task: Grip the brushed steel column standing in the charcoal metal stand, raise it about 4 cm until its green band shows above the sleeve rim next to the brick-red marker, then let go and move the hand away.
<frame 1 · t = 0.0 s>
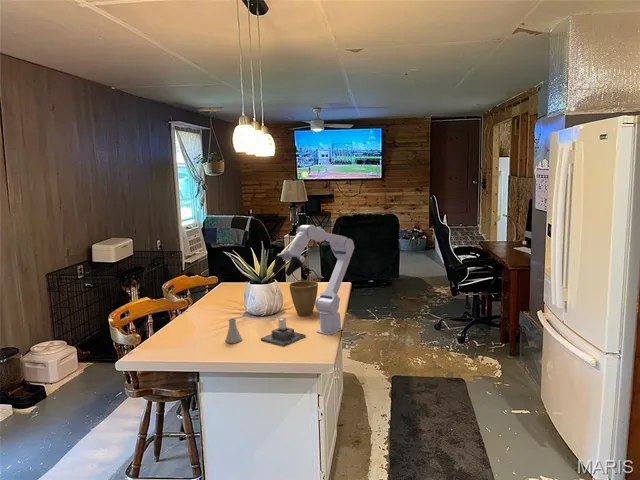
hand: (280, 273, 195), 32 cm above the table, tool tilted 50°, fingers open, 7 cm apart
plant pot: (305, 314, 249), on the table
steel column: (282, 327, 213), point 5 cm above the table, slide at 0.0 cm
flask: (233, 341, 214), on the table
charcoal stand: (283, 338, 214), on the table
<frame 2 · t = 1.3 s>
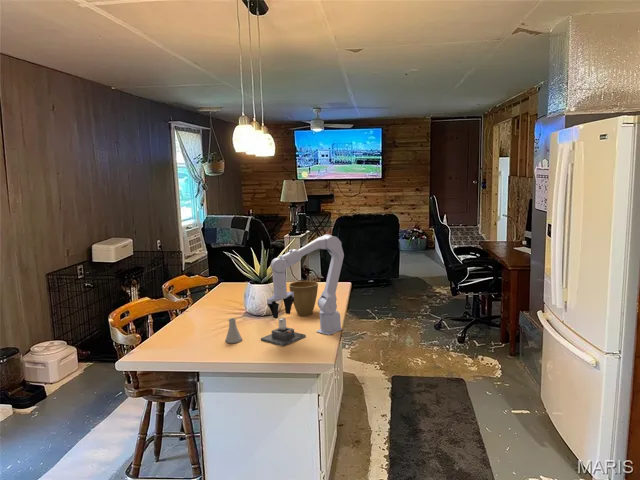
hand: (281, 315, 212), 10 cm above the table, tool pointing down, fingers open, 7 cm apart
nothing on the table moved.
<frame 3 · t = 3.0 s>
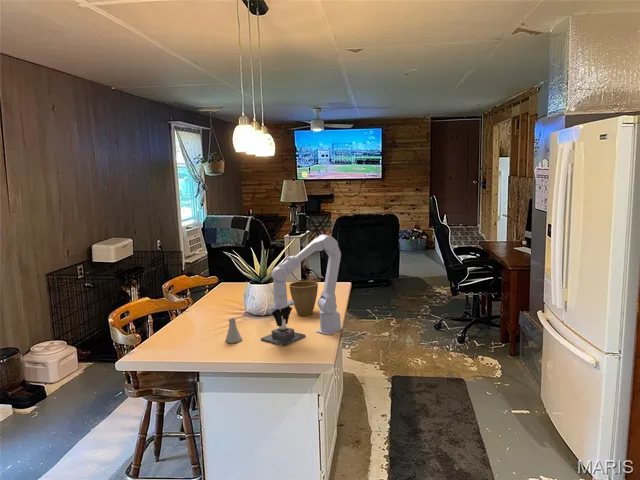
hand: (282, 324, 213), 6 cm above the table, tool pointing down, fingers closed on steel column, 3 cm apart
steel column: (282, 327, 213), point 5 cm above the table, slide at 0.0 cm, touching gripper
everything else where it was.
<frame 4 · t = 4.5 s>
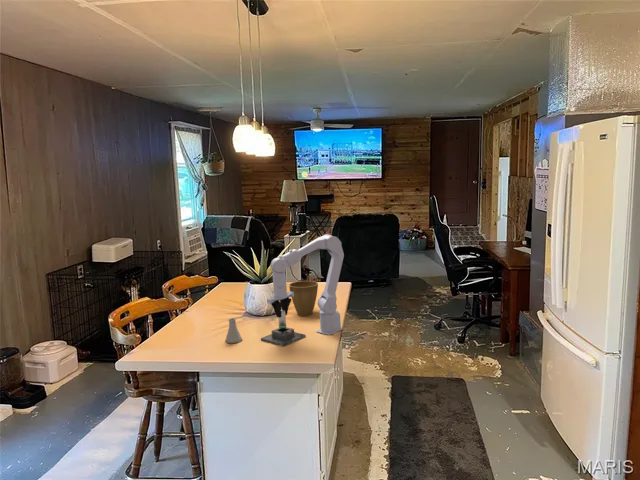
hand: (281, 315, 212), 10 cm above the table, tool pointing down, fingers closed on steel column, 3 cm apart
steel column: (282, 318, 212), point 9 cm above the table, slide at 3.9 cm, touching gripper
everything else where it was.
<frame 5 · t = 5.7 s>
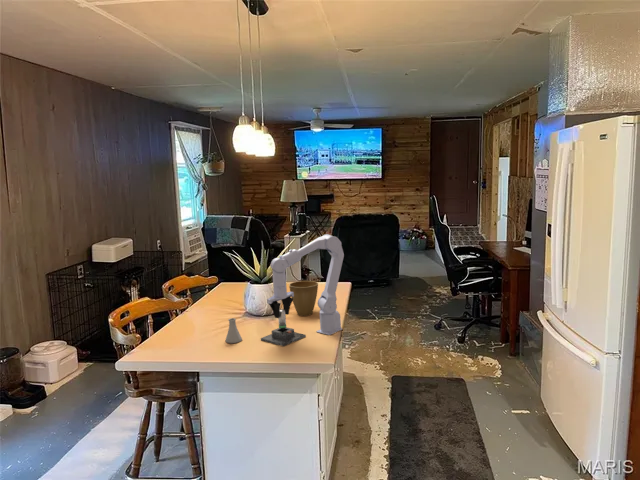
hand: (281, 315, 212), 10 cm above the table, tool pointing down, fingers open, 5 cm apart
steel column: (282, 318, 212), point 9 cm above the table, slide at 3.9 cm
everything else where it was.
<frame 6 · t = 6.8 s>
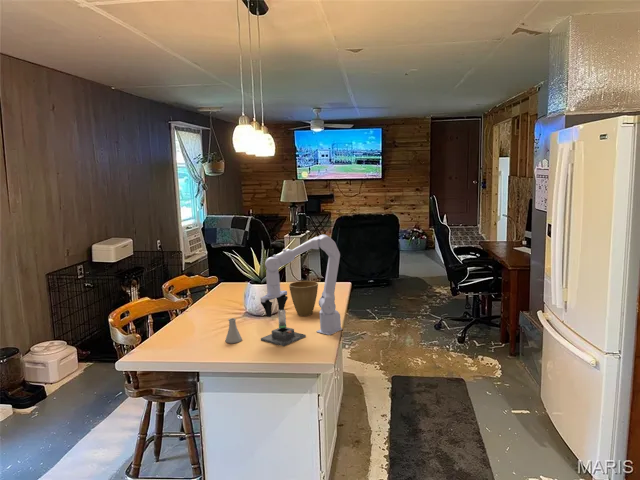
hand: (275, 314, 215), 10 cm above the table, tool pointing down, fingers open, 7 cm apart
nothing on the table moved.
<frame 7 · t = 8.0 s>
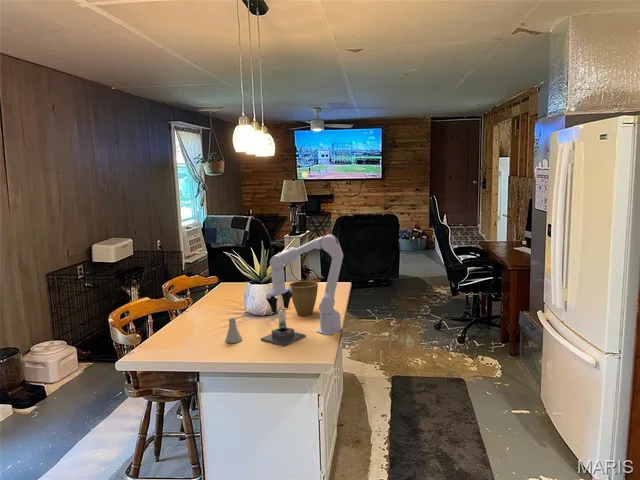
hand: (280, 310, 221), 10 cm above the table, tool pointing down, fingers open, 7 cm apart
nothing on the table moved.
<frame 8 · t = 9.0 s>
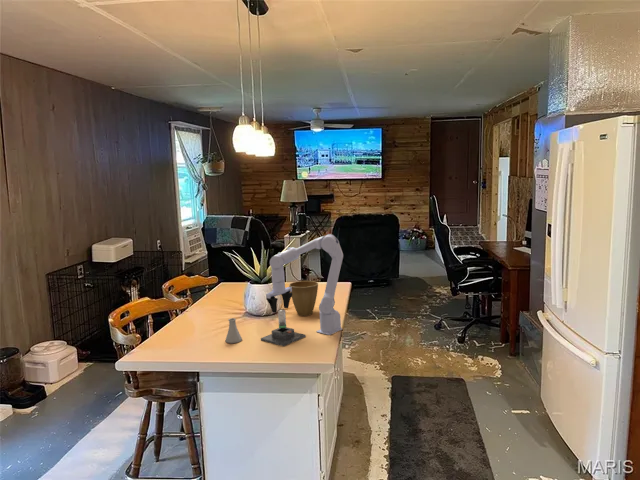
hand: (280, 310, 221), 10 cm above the table, tool pointing down, fingers open, 7 cm apart
nothing on the table moved.
at the end: steel column slide at 3.9 cm; the gripper is holding nothing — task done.
